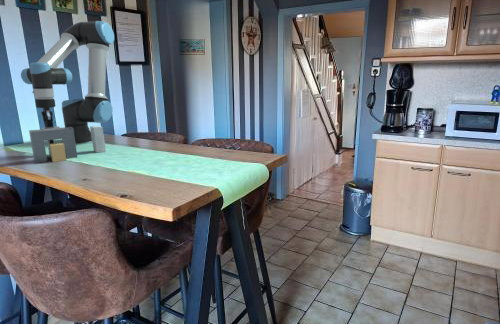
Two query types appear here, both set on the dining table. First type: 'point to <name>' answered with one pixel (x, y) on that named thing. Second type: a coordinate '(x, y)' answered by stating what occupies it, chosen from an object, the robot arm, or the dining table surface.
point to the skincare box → (97, 139)
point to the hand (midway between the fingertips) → (52, 150)
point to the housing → (51, 134)
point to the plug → (57, 152)
